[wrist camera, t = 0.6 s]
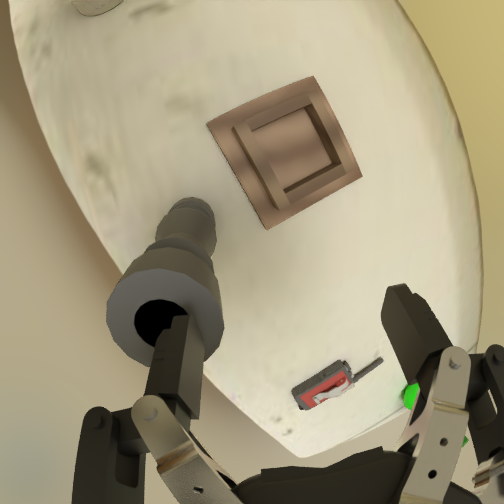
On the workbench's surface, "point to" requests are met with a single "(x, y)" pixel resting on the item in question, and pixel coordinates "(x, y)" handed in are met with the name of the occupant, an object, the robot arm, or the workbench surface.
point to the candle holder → (169, 284)
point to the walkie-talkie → (327, 384)
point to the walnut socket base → (286, 150)
